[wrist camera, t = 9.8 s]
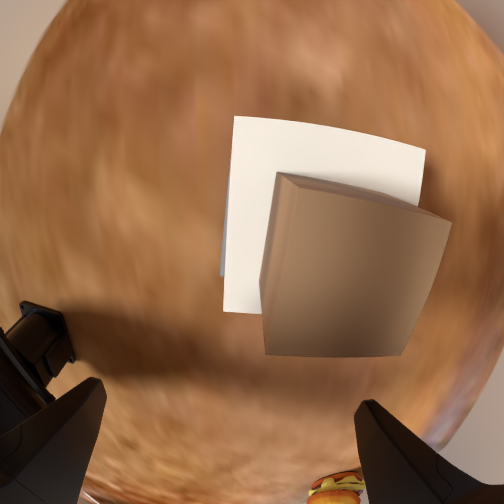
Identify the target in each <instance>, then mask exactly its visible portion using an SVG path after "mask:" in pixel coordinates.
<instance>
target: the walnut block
mask: <svg viewBox="0 0 504 504" xmlns="http://www.w3.org/2000/svg"><path fill="white" fill-rule="evenodd" d="M451 226H452V222H451V221H449V220H447V219H444V218H442V217H440V216H438V215H436V214H433V213H431V212H429V211H427V210H424V209H422V208H420V207H417V206H415V205H413V204H410V203H408V202H405V201H403V200H400V199H398V198H395V197H393V196H390V195H387V194H385V193H382V192H378V191H373V190H369V189H365V188H360V187H356V186H351V185H347V184H342V183H337V182H332V181H327V180H322V179H317V178H312V177H306V176H300V175H294V174H288V173H282V172H276V177H275V184H274V190H273V197H272V203H271V209H270V216H269V222H268V228H267V234H266V240H265V246H264V253H263V259H262V265H261V271H260V277H259V290H260V301H261V311H262V322H263V333H264V343H265V354H266V355H279V356H298V357H383V356H401V354H402V352H403V350H404V348H405V346H406V344H407V342H408V340H409V338H410V336H411V334H412V332H413V330H414V328H415V325H416V323H417V321H418V319H419V317H420V314H421V312H422V310H423V307H424V305H425V303H426V300H427V298H428V295H429V293H430V290H431V288H432V285H433V282H434V280H435V277H436V274H437V271H438V268H439V265H440V262H441V259H442V256H443V253H444V250H445V247H446V243H447V240H448V237H449V233H450V229H451Z"/></svg>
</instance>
